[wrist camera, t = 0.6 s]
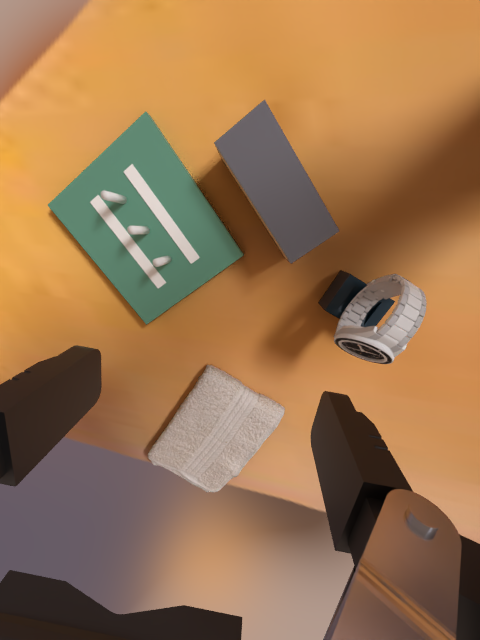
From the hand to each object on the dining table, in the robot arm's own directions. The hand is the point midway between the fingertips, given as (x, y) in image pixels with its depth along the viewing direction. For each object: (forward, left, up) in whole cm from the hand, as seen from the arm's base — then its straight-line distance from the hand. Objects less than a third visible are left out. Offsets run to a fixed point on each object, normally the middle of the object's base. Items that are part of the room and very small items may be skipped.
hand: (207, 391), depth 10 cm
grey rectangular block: (-8, -5, -22) cm, 24 cm away
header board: (+5, -10, -22) cm, 25 cm away
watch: (-9, +9, -23) cm, 26 cm away
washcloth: (+15, +15, -23) cm, 31 cm away
